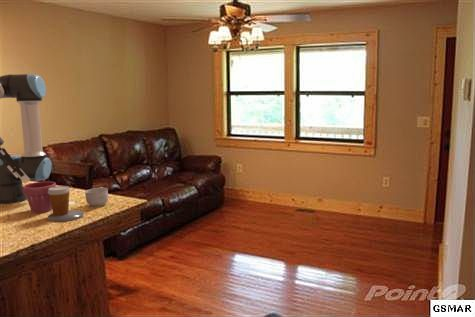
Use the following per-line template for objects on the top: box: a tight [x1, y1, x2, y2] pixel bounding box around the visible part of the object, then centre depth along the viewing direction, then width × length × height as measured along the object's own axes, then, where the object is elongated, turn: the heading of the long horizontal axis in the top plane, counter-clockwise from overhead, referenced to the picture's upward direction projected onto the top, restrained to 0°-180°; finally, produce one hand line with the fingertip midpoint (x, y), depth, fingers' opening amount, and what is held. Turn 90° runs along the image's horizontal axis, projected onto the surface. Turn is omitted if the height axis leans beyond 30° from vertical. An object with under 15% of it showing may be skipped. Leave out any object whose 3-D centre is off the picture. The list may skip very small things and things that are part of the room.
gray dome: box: [47, 209, 84, 223], centre depth 191 cm, size 15×15×1 cm
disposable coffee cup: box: [48, 185, 71, 216], centre depth 191 cm, size 10×10×12 cm
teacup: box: [84, 186, 109, 208], centre depth 210 cm, size 14×11×8 cm
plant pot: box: [23, 181, 57, 214], centre depth 200 cm, size 14×14×13 cm
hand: (23, 178), depth 182 cm, fingers open, 13 cm apart
